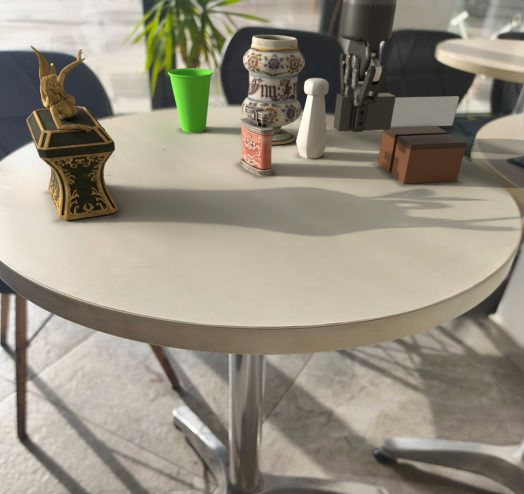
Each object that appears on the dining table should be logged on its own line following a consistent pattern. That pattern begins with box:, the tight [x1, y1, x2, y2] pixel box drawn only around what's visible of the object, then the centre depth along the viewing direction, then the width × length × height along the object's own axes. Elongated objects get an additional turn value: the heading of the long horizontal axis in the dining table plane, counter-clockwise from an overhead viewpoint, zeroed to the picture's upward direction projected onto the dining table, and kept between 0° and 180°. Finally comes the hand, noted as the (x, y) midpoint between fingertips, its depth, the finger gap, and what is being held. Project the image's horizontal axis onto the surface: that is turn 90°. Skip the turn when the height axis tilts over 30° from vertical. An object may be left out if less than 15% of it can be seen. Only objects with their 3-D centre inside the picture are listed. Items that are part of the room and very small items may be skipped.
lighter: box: [240, 104, 273, 177], centre depth 85 cm, size 8×3×10 cm, turn 32°
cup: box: [167, 67, 214, 134], centre depth 103 cm, size 9×9×11 cm
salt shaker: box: [295, 77, 330, 159], centre depth 91 cm, size 6×6×13 cm
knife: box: [333, 92, 460, 132], centre depth 81 cm, size 21×3×5 cm, turn 103°
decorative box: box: [25, 45, 119, 221], centre depth 69 cm, size 20×10×20 cm, turn 25°
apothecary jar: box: [241, 34, 306, 146], centre depth 97 cm, size 12×12×18 cm
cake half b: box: [377, 126, 449, 173], centre depth 89 cm, size 10×5×6 cm, turn 103°
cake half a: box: [390, 133, 468, 185], centre depth 84 cm, size 10×5×6 cm, turn 103°
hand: (353, 128), depth 81 cm, fingers closed on knife, 2 cm apart
